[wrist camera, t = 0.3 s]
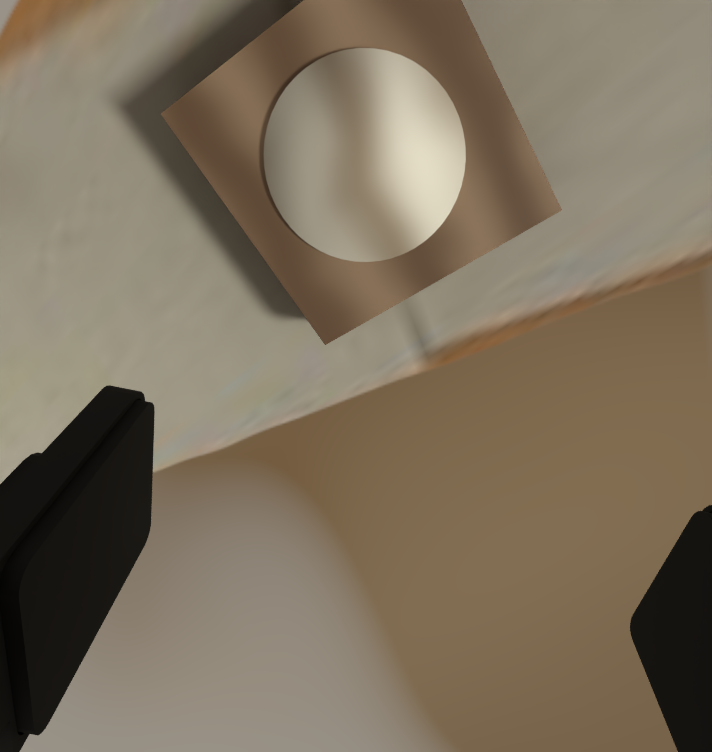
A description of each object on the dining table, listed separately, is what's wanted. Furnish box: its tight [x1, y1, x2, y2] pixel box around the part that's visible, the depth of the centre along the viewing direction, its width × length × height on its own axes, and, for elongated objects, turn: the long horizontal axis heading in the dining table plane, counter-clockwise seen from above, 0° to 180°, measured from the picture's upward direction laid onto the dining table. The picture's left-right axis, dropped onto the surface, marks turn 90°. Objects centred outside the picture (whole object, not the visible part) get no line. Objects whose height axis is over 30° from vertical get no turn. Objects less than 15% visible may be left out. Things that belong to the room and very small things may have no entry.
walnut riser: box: [161, 0, 562, 345], centre depth 34 cm, size 16×16×4 cm
